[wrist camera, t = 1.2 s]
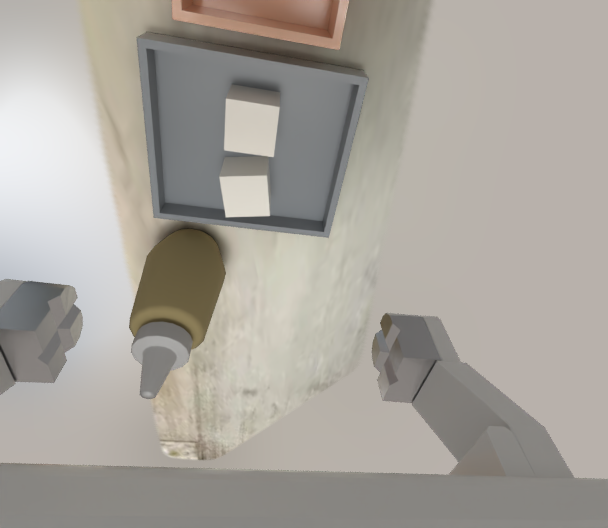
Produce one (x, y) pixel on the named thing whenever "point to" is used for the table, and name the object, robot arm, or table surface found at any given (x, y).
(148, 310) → the squeeze bottle
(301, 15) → the bin
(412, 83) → the table surface
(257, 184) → the block
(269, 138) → the white cube
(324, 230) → the tray
